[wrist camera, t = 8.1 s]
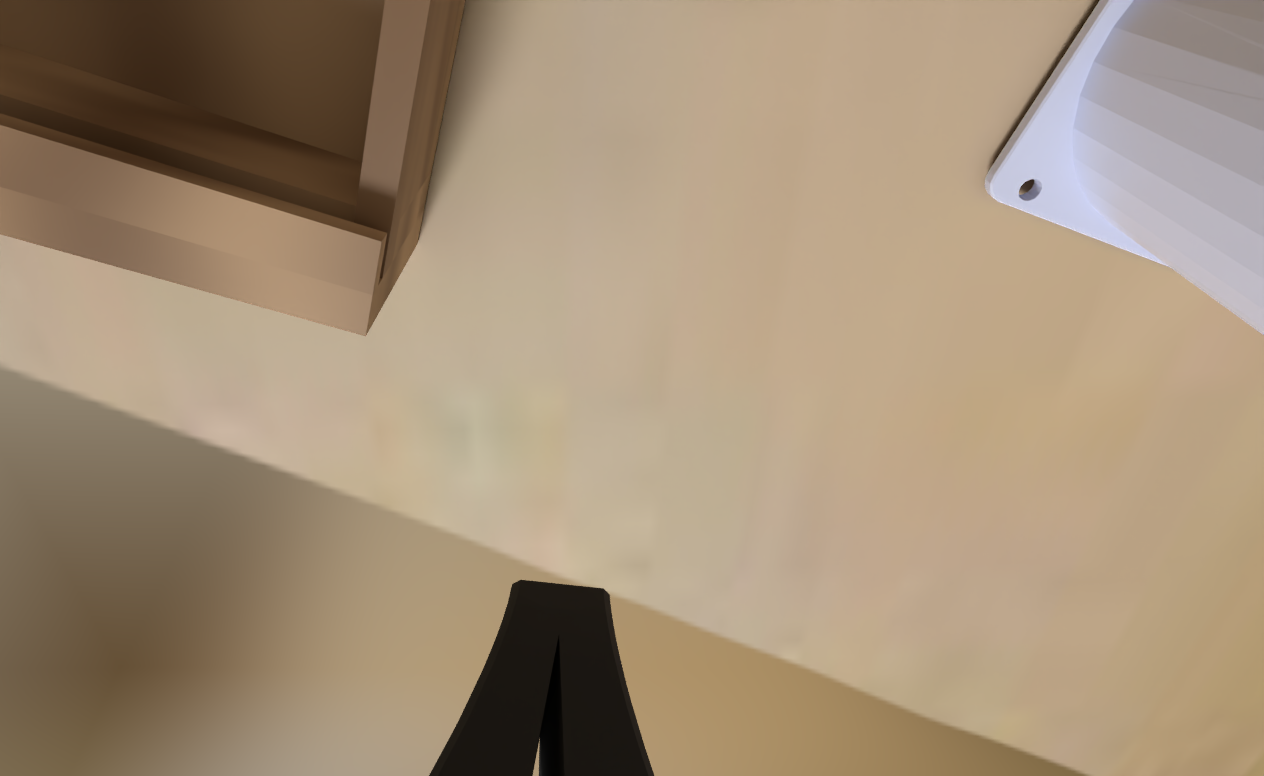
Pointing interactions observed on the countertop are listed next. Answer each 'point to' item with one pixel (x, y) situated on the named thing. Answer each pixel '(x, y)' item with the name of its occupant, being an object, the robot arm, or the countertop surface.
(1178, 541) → the countertop surface
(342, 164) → the box
